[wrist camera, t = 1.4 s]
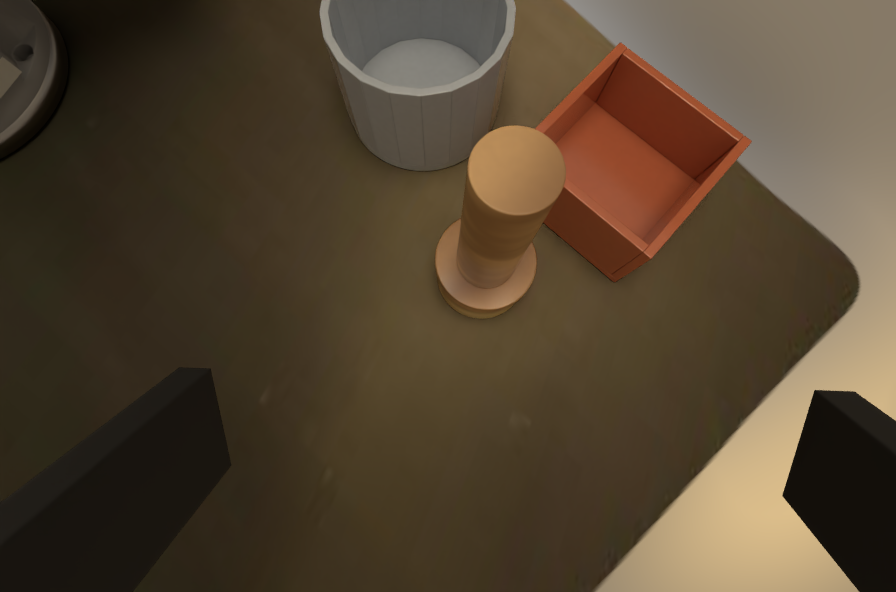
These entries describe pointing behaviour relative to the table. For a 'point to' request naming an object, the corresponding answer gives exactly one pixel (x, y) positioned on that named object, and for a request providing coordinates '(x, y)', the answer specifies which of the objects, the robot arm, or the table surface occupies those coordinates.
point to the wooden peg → (499, 221)
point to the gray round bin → (420, 73)
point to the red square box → (633, 161)
